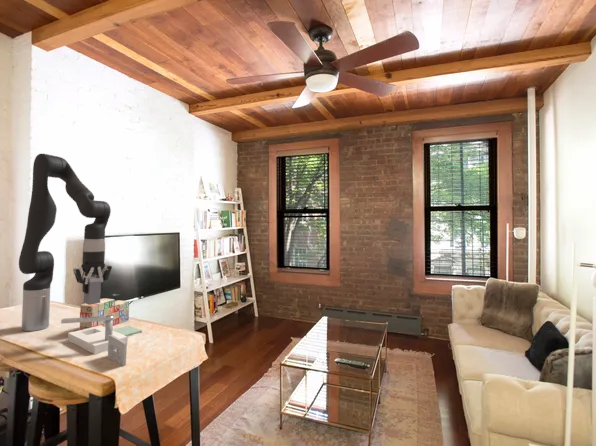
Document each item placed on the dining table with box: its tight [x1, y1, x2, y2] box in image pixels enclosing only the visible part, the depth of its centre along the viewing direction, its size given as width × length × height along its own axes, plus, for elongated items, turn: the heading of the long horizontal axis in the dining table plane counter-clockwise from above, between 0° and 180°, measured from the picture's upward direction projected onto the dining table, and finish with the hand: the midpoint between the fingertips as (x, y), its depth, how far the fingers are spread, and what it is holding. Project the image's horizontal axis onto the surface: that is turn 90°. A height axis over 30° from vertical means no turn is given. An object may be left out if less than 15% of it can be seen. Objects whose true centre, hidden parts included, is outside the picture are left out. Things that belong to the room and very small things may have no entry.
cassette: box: [107, 335, 128, 367], centre depth 111 cm, size 12×2×8 cm, turn 53°
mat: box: [113, 325, 143, 337], centre depth 138 cm, size 10×10×1 cm
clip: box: [60, 315, 113, 325], centre depth 120 cm, size 16×3×1 cm, turn 112°
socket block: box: [67, 320, 129, 355], centre depth 126 cm, size 21×12×10 cm, turn 58°
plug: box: [83, 276, 102, 305], centre depth 129 cm, size 4×4×10 cm
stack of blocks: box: [79, 297, 130, 330], centre depth 145 cm, size 21×6×12 cm, turn 167°
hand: (92, 292), depth 129 cm, fingers closed on plug, 4 cm apart
